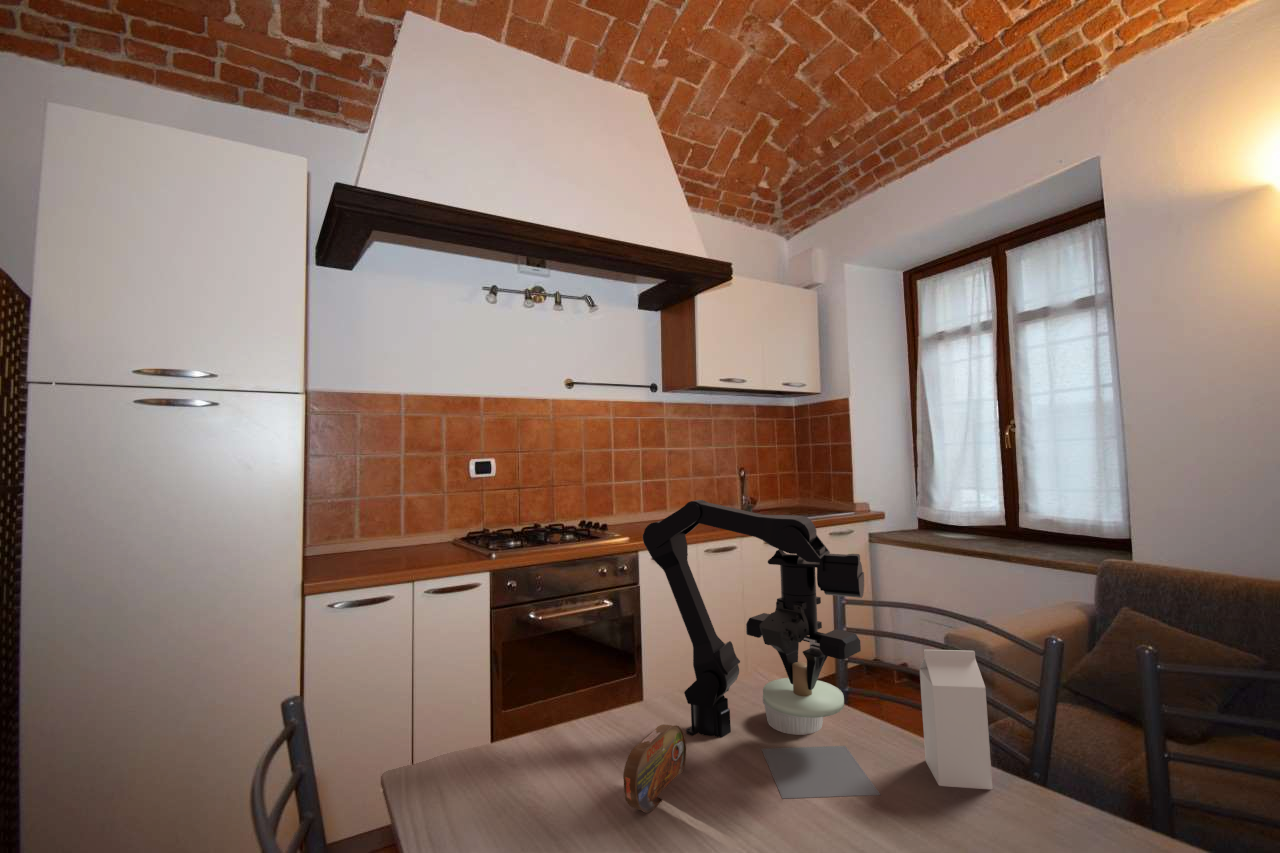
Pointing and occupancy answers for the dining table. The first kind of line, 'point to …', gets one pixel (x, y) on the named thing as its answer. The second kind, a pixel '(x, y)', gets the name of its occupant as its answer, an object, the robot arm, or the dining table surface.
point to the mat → (817, 772)
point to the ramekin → (792, 722)
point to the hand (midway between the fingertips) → (802, 686)
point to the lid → (803, 695)
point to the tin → (653, 766)
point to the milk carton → (955, 719)
